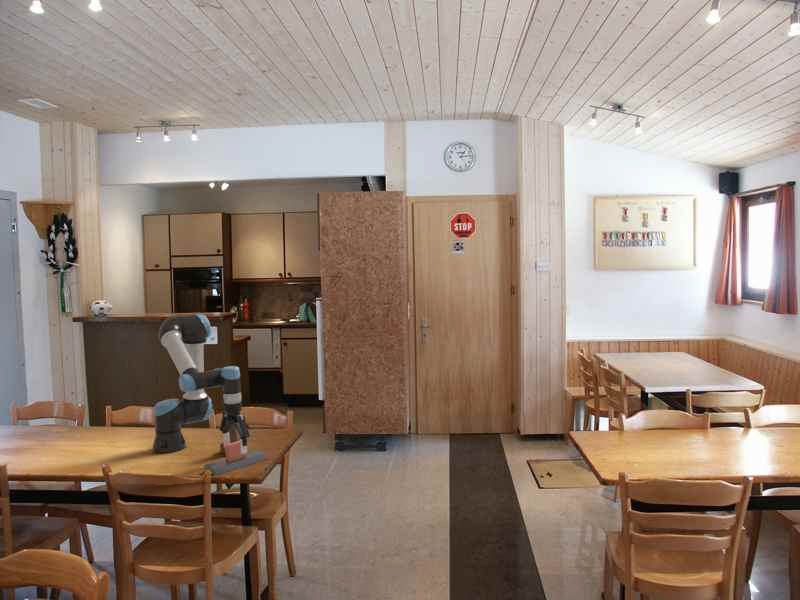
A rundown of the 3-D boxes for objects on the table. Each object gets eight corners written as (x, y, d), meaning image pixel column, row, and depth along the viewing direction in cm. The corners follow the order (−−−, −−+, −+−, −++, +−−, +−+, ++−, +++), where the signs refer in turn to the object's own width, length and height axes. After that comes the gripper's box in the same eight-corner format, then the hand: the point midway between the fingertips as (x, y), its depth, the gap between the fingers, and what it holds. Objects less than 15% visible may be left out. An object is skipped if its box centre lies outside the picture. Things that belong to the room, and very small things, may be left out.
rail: (204, 471, 263) (204, 464, 263) (256, 456, 282) (256, 449, 282) (214, 475, 257) (213, 468, 257) (266, 459, 276) (266, 452, 276)
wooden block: (220, 453, 288) (217, 415, 287) (225, 450, 292) (223, 413, 291) (237, 454, 286) (234, 416, 285) (242, 451, 290) (239, 413, 289)
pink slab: (226, 467, 268) (225, 444, 267) (242, 462, 273) (240, 440, 273) (230, 468, 266) (228, 445, 265) (246, 463, 271) (244, 441, 271)
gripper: (209, 400, 274) (212, 447, 275) (240, 407, 257) (243, 457, 258) (225, 397, 279) (227, 443, 280) (256, 404, 262) (259, 453, 263)
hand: (235, 450), depth 269 cm, fingers open, 13 cm apart
